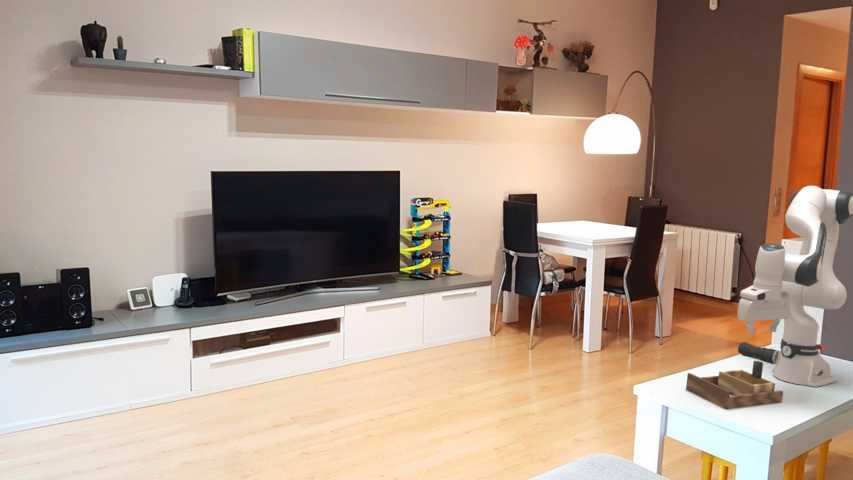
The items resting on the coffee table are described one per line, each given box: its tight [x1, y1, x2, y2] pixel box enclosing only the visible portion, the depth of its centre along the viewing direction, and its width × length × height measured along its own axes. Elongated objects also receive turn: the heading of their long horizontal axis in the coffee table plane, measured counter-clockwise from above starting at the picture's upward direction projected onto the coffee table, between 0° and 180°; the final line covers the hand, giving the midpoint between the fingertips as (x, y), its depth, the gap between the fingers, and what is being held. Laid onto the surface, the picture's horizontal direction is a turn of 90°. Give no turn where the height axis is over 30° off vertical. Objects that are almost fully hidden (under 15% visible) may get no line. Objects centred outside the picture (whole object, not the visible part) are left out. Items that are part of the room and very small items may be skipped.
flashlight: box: [737, 341, 780, 364], centre depth 286 cm, size 15×5×5 cm, turn 38°
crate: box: [718, 360, 776, 396], centre depth 238 cm, size 11×14×11 cm
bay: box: [685, 372, 784, 410], centre depth 236 cm, size 24×18×7 cm
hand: (761, 332), depth 237 cm, fingers open, 8 cm apart
